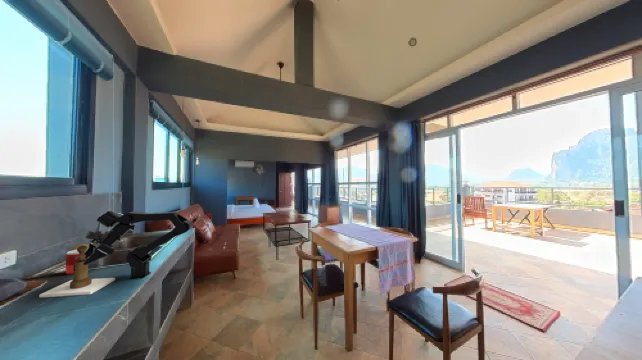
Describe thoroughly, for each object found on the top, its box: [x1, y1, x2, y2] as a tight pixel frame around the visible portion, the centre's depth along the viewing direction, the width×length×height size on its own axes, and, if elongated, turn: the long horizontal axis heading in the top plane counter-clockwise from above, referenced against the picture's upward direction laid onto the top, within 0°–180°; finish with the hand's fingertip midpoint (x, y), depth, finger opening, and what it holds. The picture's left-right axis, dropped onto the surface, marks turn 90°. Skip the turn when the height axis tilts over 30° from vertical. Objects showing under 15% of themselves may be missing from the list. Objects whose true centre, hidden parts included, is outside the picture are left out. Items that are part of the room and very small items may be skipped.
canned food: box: [65, 249, 89, 275], centre depth 110 cm, size 8×8×11 cm
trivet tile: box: [39, 277, 116, 298], centre depth 94 cm, size 18×13×1 cm
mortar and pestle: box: [70, 245, 93, 289], centre depth 94 cm, size 7×6×18 cm
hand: (82, 262), depth 94 cm, fingers open, 9 cm apart
